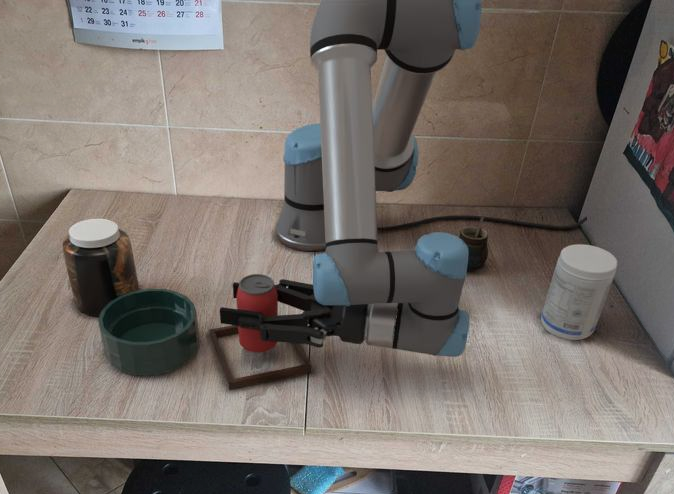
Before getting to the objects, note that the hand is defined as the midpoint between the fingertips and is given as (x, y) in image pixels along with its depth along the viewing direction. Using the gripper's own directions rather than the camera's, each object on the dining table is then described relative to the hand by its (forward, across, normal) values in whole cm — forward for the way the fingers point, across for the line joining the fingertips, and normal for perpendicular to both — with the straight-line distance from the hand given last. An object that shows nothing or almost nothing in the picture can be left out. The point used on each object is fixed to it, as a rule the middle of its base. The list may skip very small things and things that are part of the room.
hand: (227, 302), depth 106 cm
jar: (+27, +9, -10) cm, 30 cm away
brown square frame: (-5, 0, -10) cm, 11 cm away
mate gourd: (-40, +37, -10) cm, 56 cm away
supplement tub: (-58, +20, -10) cm, 62 cm away
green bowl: (+13, -3, -10) cm, 17 cm away
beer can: (-5, 0, -8) cm, 9 cm away
